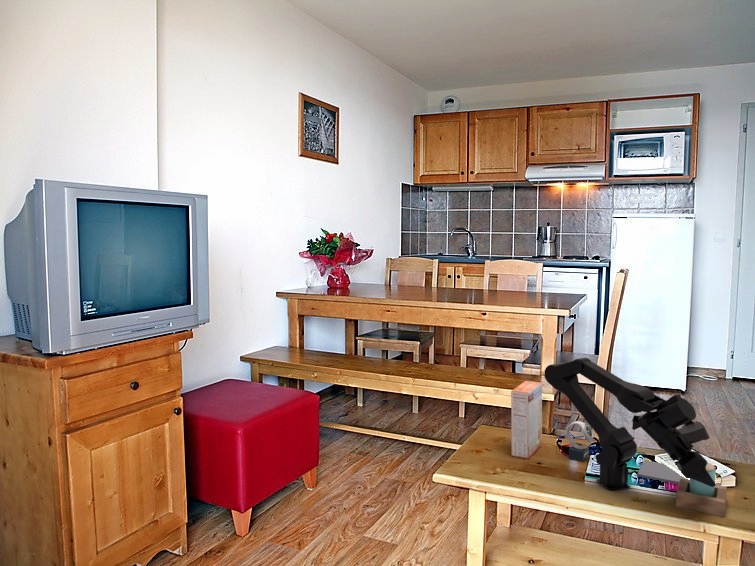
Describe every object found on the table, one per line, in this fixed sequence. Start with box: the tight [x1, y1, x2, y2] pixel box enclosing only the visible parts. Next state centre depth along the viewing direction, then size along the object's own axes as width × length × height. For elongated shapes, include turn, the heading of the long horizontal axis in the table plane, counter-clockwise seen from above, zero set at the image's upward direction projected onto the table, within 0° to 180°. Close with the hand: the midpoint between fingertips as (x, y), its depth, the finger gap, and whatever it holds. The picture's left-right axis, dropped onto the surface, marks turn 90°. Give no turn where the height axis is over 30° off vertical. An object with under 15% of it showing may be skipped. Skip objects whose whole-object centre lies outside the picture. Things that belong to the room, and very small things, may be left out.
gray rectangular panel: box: [637, 459, 722, 486], centre depth 166 cm, size 20×12×1 cm, turn 58°
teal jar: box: [689, 462, 717, 498], centre depth 150 cm, size 6×6×10 cm
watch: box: [565, 420, 595, 463], centre depth 181 cm, size 6×8×11 cm
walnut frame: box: [675, 478, 728, 518], centre depth 150 cm, size 11×11×4 cm
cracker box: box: [510, 380, 543, 460], centre depth 187 cm, size 14×6×21 cm, turn 148°
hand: (708, 478), depth 150 cm, fingers open, 9 cm apart
